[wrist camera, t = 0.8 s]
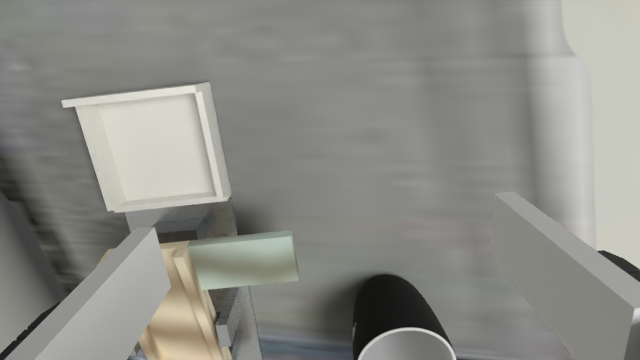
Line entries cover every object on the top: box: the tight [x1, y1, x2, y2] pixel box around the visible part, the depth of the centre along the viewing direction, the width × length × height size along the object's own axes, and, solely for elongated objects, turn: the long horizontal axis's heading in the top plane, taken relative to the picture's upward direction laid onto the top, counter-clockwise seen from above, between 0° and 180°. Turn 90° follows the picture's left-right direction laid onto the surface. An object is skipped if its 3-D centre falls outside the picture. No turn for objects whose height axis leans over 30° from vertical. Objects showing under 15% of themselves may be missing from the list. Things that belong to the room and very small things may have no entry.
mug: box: [353, 275, 456, 360], centre depth 38 cm, size 12×9×10 cm
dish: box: [61, 82, 232, 213], centre depth 35 cm, size 11×11×4 cm
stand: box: [124, 198, 264, 360], centre depth 38 cm, size 21×11×8 cm, turn 6°
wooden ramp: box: [97, 230, 299, 360], centre depth 35 cm, size 20×16×4 cm
